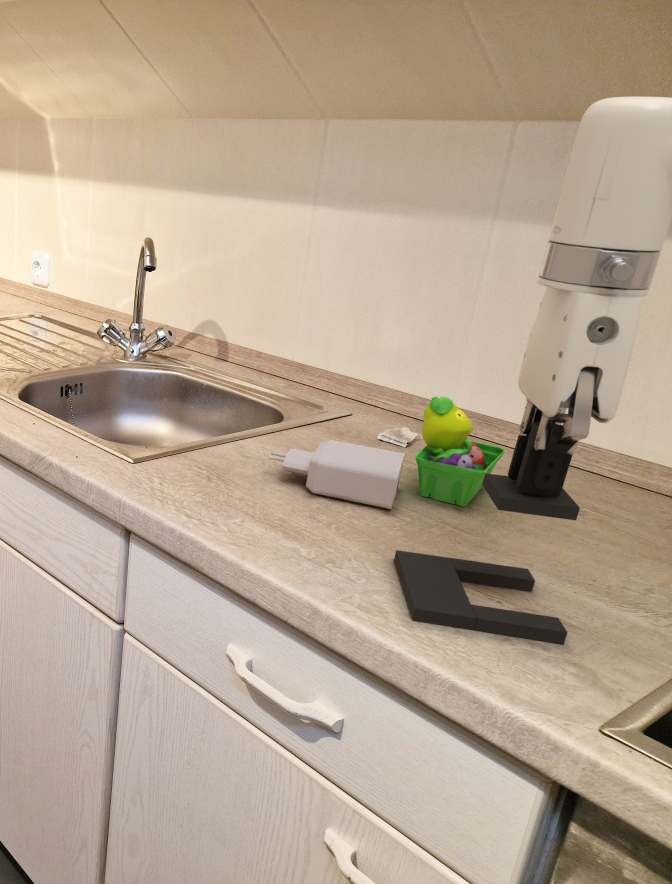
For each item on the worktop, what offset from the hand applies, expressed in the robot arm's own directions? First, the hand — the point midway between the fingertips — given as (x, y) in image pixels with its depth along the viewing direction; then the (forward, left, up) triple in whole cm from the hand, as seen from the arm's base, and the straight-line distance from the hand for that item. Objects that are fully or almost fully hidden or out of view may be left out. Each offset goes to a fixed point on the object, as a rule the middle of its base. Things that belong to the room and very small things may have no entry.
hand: (532, 485), depth 73 cm
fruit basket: (-1, -29, -12) cm, 31 cm away
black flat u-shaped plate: (+2, 0, -12) cm, 12 cm away
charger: (+13, -25, -12) cm, 31 cm away
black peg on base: (0, 0, -2) cm, 2 cm away
